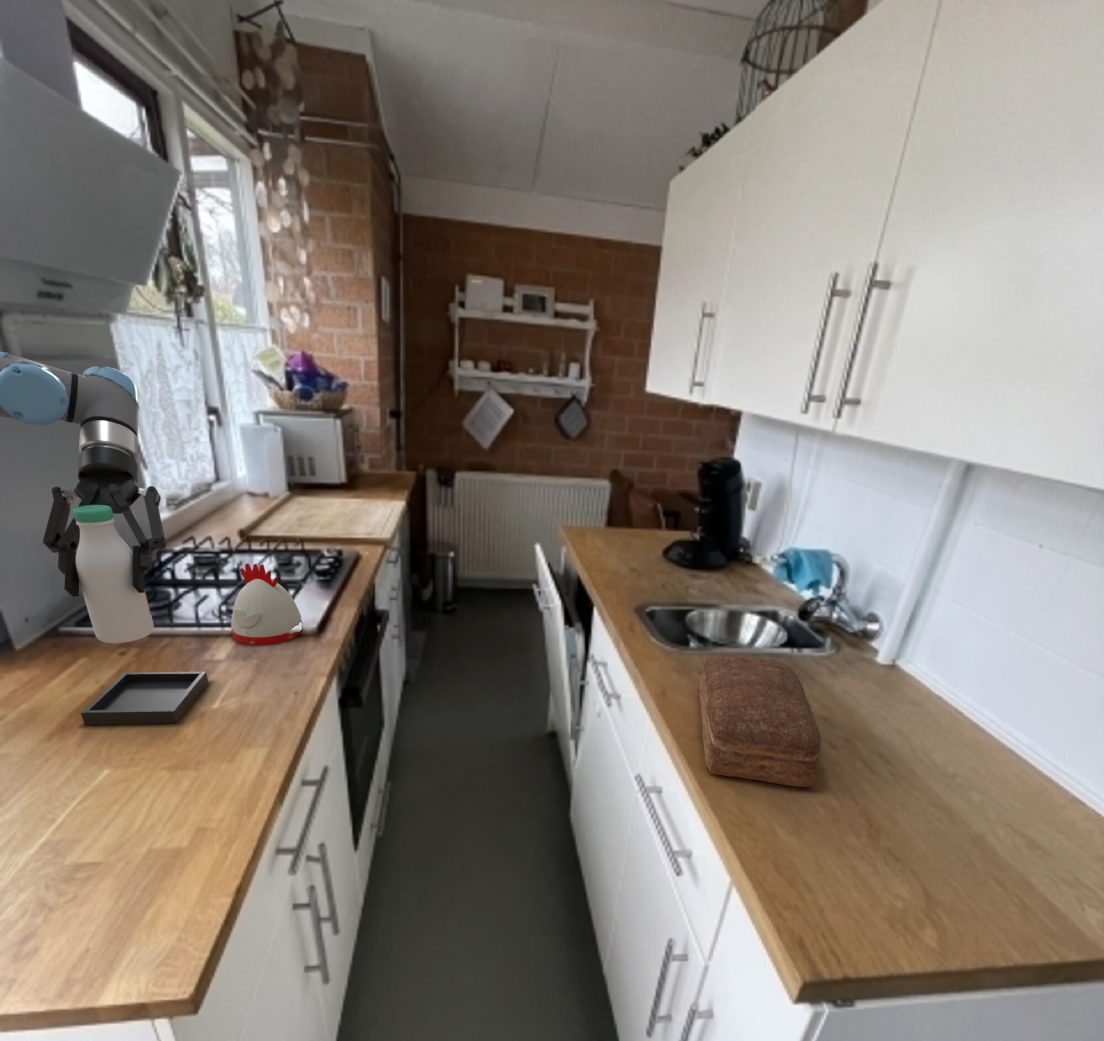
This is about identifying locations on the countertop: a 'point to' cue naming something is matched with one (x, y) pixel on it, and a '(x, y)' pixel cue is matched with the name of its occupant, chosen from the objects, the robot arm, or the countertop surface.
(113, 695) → the dock tray
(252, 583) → the kitchen timer
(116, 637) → the milk bottle
